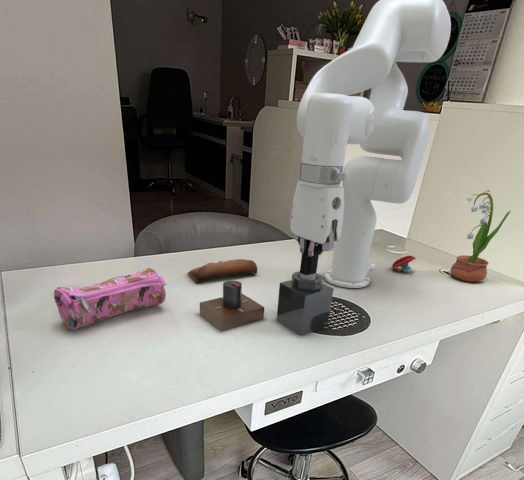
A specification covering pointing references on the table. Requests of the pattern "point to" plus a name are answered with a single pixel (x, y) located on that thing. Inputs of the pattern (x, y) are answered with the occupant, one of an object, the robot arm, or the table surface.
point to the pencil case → (109, 298)
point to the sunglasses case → (223, 269)
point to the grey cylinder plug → (308, 276)
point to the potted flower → (477, 246)
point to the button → (403, 263)
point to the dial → (232, 294)
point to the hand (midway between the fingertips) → (307, 272)
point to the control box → (231, 313)
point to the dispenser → (304, 304)
